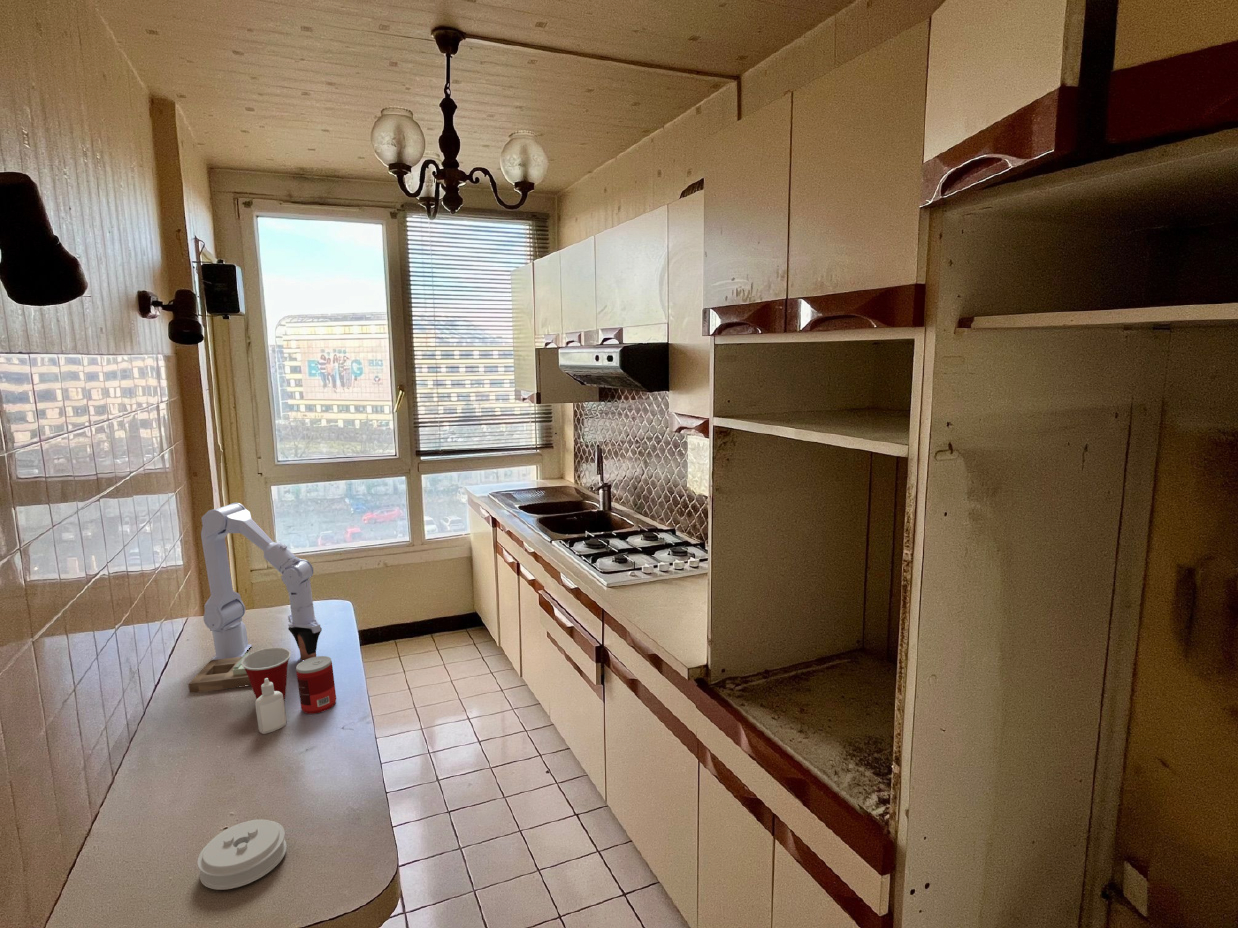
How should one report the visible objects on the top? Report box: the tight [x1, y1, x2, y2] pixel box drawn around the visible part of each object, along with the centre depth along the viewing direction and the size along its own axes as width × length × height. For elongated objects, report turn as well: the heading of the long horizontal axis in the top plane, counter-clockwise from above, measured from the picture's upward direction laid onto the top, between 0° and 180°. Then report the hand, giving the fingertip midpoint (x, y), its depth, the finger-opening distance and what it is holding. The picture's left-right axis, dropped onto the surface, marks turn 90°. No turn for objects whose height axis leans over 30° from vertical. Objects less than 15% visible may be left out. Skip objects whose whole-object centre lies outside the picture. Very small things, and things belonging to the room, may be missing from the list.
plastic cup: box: [241, 646, 292, 700], centre depth 167 cm, size 11×11×12 cm
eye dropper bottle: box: [254, 678, 288, 735], centre depth 155 cm, size 4×6×12 cm
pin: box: [298, 634, 317, 661], centre depth 192 cm, size 4×4×7 cm
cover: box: [233, 652, 252, 675], centre depth 184 cm, size 10×9×2 cm
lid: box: [197, 819, 288, 891], centre depth 113 cm, size 13×13×5 cm
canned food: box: [295, 655, 337, 715], centre depth 164 cm, size 8×8×11 cm
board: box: [188, 657, 251, 694], centre depth 183 cm, size 14×18×2 cm
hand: (307, 651), depth 193 cm, fingers closed on pin, 4 cm apart
